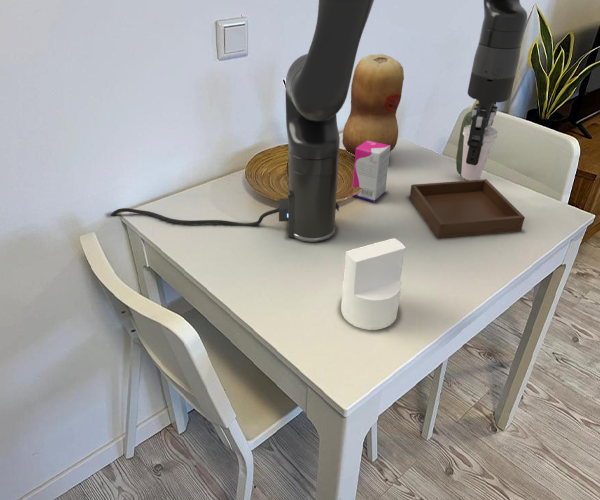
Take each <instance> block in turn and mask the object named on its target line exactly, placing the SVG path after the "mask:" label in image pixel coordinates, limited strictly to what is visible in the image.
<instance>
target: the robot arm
mask: <svg viewBox="0 0 600 500" xmlns="http://www.w3.org/2000/svg"><path fill="white" fill-rule="evenodd" d="M374 1H375V0H318V5H317V17H316V18H317V19H316V24H315V28H314V33H313V37H312V40H311V43H310V45H309V49H308V52H307V53H305V54H303V55H300V56H299V57H298V58H296V59H295V60H294V61H293V62H292V63H291V65H290V66H289V68H288V70H287V72H286V77H285V91H284V92H285V93H284V95H285V128H286V135H287V143H288V144H287V151H288V159H287V160H288V162H287V163H288V164H287V165H288V172H287V173H288V189H287V198H284V197H283V198H279V201H278V202H279V203H278V208H275V209H272V210H268V211H266V212H264V213H262V214H261V215H260V216H259V217H258V219H257V221H254V222H248V223H246V222H245V223H244V222H236V221H229V220H223V219H199V220H198V219H197V220H196V219H195V220H183V219H175V218H171V217H167V216H163V215H162V214H158V213H156V212H154V211H153V212H152V211H148V210H141V209H137V208H130V207H129V208H128V207H121V208H117V209H116V210H114V211H112V212H111V213H110V216H111V217H114V216H116V215H117V214H119V213H125V212H126V213H134V214H139V215H147V216H151V217H153V218H154V217H155V218H157V219H160V220H163V221H165V222H168V223H174V224H180V225H209V224H211V225H213V224H214V225H227V226H235V227H237V226H238V227H256V226H259V225H261V223H262V221H263V220H264V218H266V217H268V216H269V215H274V214H277V213H278V222H281V223H283V222H287V235H288V238H294V239H296V240H298V241H302V242H307V243H316V242H323V241H326V240H328V239H330V238H331V237H332V236H334V234H335V232H336V213H337V212H339V210H340V205H339V204H338V203H337V197H338V196H337V194H338V178H339V177H338V176H339V162H340V159H339V158H340V145H341V143H340V142H341V139H340V138H341V137H340V132H339V126H338V119H337V114H338V113H339V112H340V110H341V109H342V108H343V106H344V104H345V102H346V100H347V97H348V94H349V89H350V84H351V82H352V81H351V80H352V77H353V76H352V75H353V71H354V68H355V67H354V66H355V62H356V57H357V54H358V51H359V50H358V49H359V45H360V43H361V40H362V39H361V38H362V36H363V33H364V30H365V27H366V24H367V22H368V19H369V17H370V14H371V11H372V8H373V5H374V3H375V2H374ZM483 15H484V16H483V20H482V24H481V30H480V33H479V39H478V44H477V47H476V50H475V53H474V57H473V60H472V61H473V62H472V67H471V72H470V77H469V82H468V87H467V95H468V96H469V97H470V98H471V99H473V100H475V101H476V100H478V101H479V104H478V103H476V105H475V107H474V108H473V112H472V121H471V125H470V129H469V131H470V134H469V139H468V141H467V146H469V149H468V154H467V158H466V163H467V164H470V165H477V164H478V161H479V157H480V152H481V148H482V146H483V144H484V143H483V141H484V138H485V136H486V135H488V133H489V130H490V127H492V126H493V125H494V121H495V117H496V115H497V112H498V107H499V106H497V103H498V104H499V103H504V102H507V101H508V100H509V99H510V98H511V95H512V91H513V87H514V83H515V79H516V75H517V71H518V68H519V63H520V57H521V50H522V49H521V48H522V44H523V40H524V35H525V31H526V28H527V23H528V13H527V10H526V9H525V8H524V7H523V6H522V4H521V1H520V0H483ZM486 127H487V128H486ZM485 128H486V129H485ZM474 135H475V136H480V141H479V140H474V139H473V137H474Z"/></svg>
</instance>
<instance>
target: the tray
mask: <svg viewBox="0 0 600 500" xmlns="http://www.w3.org/2000/svg"><path fill="white" fill-rule="evenodd" d="M409 199H410V201H411V202H412V204H413V205H414V207H415V208H416V210H417V211H418V212H419V214H420V215H421V216H422V218H423V220H424V221H425V222H426V224H427V225H428V227H429V228H430V230H431V231H432V232H433V234H434V235H435V236H436V238H437V239H438V240H439V239H449V238H460V237H461V238H462V237H472V236H483V235H484V236H485V235H494V234H506V233H516V232H522V229H523V226H524V222H525V220H526V219H525V218H526V217H525V216H524V214H522V212H520V211H519V209H517V208H516V207H515V206H514V205H513V203H512V202H510V201H509V200H508V198H506V197H505V196H504V195H503V194H502V193H501V192H500V191H499V190H498V189H497V188H496V187H495V186H494V185H493V184H492V183H491V182H490V181H489V180H488V179H486V178H484V179H478V180H458V181H443V182H429V183H419V184H418V183H417V184H411V185H410V191H409Z"/></svg>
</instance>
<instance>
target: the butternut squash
mask: <svg viewBox="0 0 600 500" xmlns="http://www.w3.org/2000/svg"><path fill="white" fill-rule="evenodd" d="M353 71H354V72H353V74H352V75H353V76H352V79H351V80H352V81H351V87H350V112H349V115H348V117H347V119H346V122H345V124H344V126H343V131H342V145H343V147H344V149H345V151H346V152H347V151H348V152H350V153H352V154H354V155H355V151H356V148H357V147H358V146H360V145H361V144H363V143H364V142H366V141H367V140H368V141H373V142H377V143H381V144H386V145H390V152H392V151H393V150H394V149H395V147H396V145H397V143H398V139H399V125H398V120H397V111H398V108H399V105H400V103H401V99H402V93H403V86H404V80H405V75H404V67H403V65H402V64H401V63H400V61H398V60H397V59H395V57H392V56H390V55H387V54H383V53H376V54H368V55H365V56H364V57H362V58H361V59H360V60H359V61H358V63H357V64H356V66H355V67H354V70H353Z"/></svg>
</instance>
